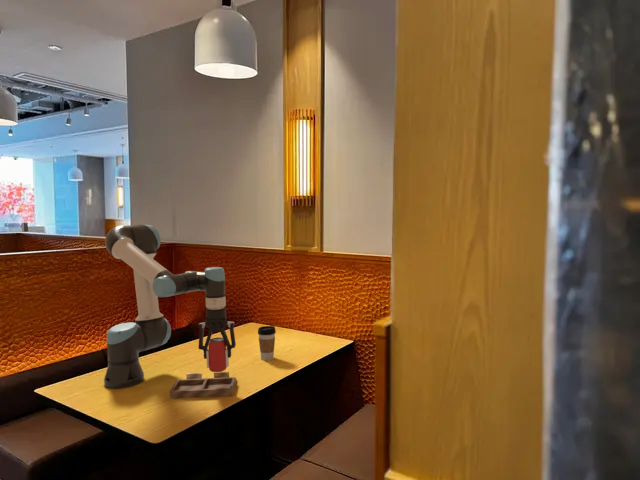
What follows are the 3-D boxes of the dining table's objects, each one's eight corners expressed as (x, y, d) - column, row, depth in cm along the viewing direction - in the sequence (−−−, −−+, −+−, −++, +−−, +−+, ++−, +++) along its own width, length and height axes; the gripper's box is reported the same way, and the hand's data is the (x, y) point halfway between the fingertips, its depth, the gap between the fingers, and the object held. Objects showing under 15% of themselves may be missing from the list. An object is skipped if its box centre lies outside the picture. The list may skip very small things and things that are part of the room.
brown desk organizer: (170, 398, 167) (169, 388, 167) (179, 383, 182) (179, 373, 182) (232, 396, 169) (231, 385, 168) (236, 380, 184) (236, 371, 184)
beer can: (209, 367, 176) (208, 337, 175) (226, 366, 178) (225, 336, 177) (209, 373, 169) (208, 342, 169) (227, 371, 171) (226, 340, 170)
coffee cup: (273, 361, 206) (272, 329, 205) (255, 360, 208) (255, 329, 207) (278, 356, 215) (277, 325, 214) (261, 355, 216) (261, 324, 215)
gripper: (188, 310, 168) (190, 370, 169) (240, 308, 169) (242, 368, 170) (192, 306, 175) (194, 364, 176) (242, 304, 176) (244, 361, 178)
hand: (217, 366), depth 173 cm, fingers closed on beer can, 6 cm apart
